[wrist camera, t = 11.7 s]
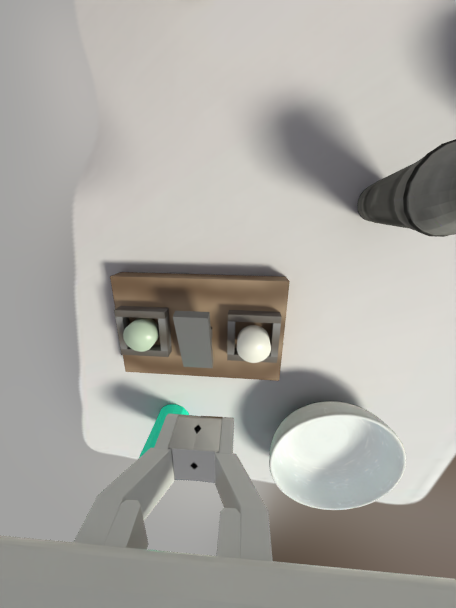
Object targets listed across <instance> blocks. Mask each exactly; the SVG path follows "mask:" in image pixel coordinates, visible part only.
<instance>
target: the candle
mask: <svg viewBox="0 0 456 608" xmlns="http://www.w3.org/2000/svg"><path fill="white" fill-rule="evenodd" d="M168 414H181V415H189V413H188V412H187V411H186V410H185V409H184V408H183V407H181V406H179V405H176V404H170V405H166V406H164V407H163V408H162V409H161V411H160V413H159V415H158V417H157V420H156V422H155V424H154V426H153V428H152V431H151V433H150V435H149V437H148V439H147V441H146V444H145V446H144V448H143V450H142V452H141V455H140V457H141V456H142V455H143V454H144V453H145V452H147V451H148V450H149V449H150V448H154V447H155V444H156V442H157V439H158V436H159V434H160V431H161V429H162V426H163V423H164V421H165V418H166V416H167V415H168ZM140 457H139V458H140Z"/></svg>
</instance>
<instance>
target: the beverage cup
mask: <svg viewBox="0 0 456 608" xmlns="http://www.w3.org/2000/svg"><path fill="white" fill-rule="evenodd" d="M357 206H358V212H359V214H360V216H361V217H362V218H363V219H365V220H368V221H372V222H374V223H380V224H386V225H392V226H399V227H405V228H410V229H413V230H416V231H418V232H420V233H423V234H425V235H428V236H448V235H454V234H456V140H453V141H450V142H447V143H444V144H442V145H440V146H439V147H437V148H436V149H434V150H433V151H431V152H429V153H428V154H427V155H426V156H425V157H423V158H422V159H420V160H419V161H417V162H416V163H414V164H412V165H410V166H408V167H406V168H404V169H402V170H400V171H398V172H396V173H394V174H392V175H390V176H388V177H386V178H384V179H382V180H380V181H378V182H376V183H375V184H373V185H371V186H369V187H368V188H366V189H365V190H364V191H363V193H362V194H361V196H360V198H359V200H358V205H357Z"/></svg>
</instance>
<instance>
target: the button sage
mask: <svg viewBox="0 0 456 608" xmlns="http://www.w3.org/2000/svg"><path fill="white" fill-rule="evenodd" d="M159 336H160V335H159V326H158V324H157V323H156V322H155V321H154V320H152V319H151V318H137V319H135V320H134V321H133V322H132V323H131V324H130V325H128V326H127V327H126V328H125V330H124V333H123V338H124V341H125V343H126V344H127V345H128V346H129V347H130V348H131V349H133V350H135V351H139V352H143V351H147V350H149V349H150V348H151V347H152V346H153V345H154V343H155V342H156V341H157V339H158V338H159Z"/></svg>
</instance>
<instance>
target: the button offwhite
mask: <svg viewBox="0 0 456 608" xmlns="http://www.w3.org/2000/svg"><path fill="white" fill-rule="evenodd" d="M270 351H271V345H270V340H269V335H268V333H267V331H266V330H265V329H264V328H262V327H260V326H257V325H250V326H246V327H244V328H243V329H242V330H241V331H240V332H239V334H238V339H237V352H238V354H239V356H240V357H241V358H242V359H243V360H245V361H247V362H250V363H258V362H261V361H263V360H265V359H266V358H267V357H268V356H269V354H270Z"/></svg>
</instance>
